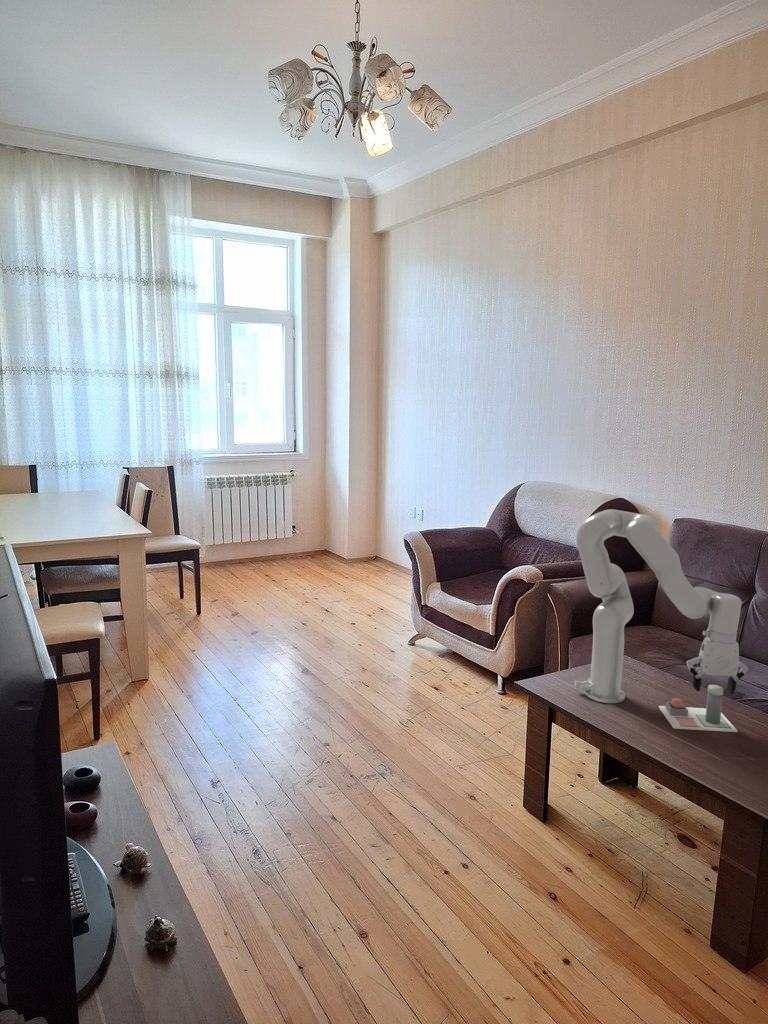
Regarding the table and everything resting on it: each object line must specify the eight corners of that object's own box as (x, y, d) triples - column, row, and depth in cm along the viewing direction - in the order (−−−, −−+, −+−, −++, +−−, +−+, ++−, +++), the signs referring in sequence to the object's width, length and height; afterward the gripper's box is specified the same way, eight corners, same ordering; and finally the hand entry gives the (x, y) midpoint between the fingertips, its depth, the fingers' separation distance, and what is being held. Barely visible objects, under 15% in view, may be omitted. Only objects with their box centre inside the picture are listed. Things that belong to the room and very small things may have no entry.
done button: (673, 709, 207) (673, 702, 207) (669, 705, 210) (670, 697, 210) (683, 710, 207) (684, 702, 206) (680, 705, 210) (681, 698, 210)
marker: (708, 724, 201) (711, 690, 200) (702, 717, 205) (705, 684, 204) (722, 724, 201) (726, 690, 199) (717, 718, 205) (720, 684, 203)
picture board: (673, 728, 199) (674, 720, 199) (658, 707, 213) (659, 699, 213) (737, 732, 198) (738, 724, 198) (718, 710, 212) (719, 703, 211)
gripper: (695, 638, 196) (687, 693, 199) (758, 643, 195) (748, 699, 198) (686, 629, 203) (678, 682, 206) (746, 633, 202) (738, 687, 205)
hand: (713, 690), depth 202 cm, fingers open, 9 cm apart
